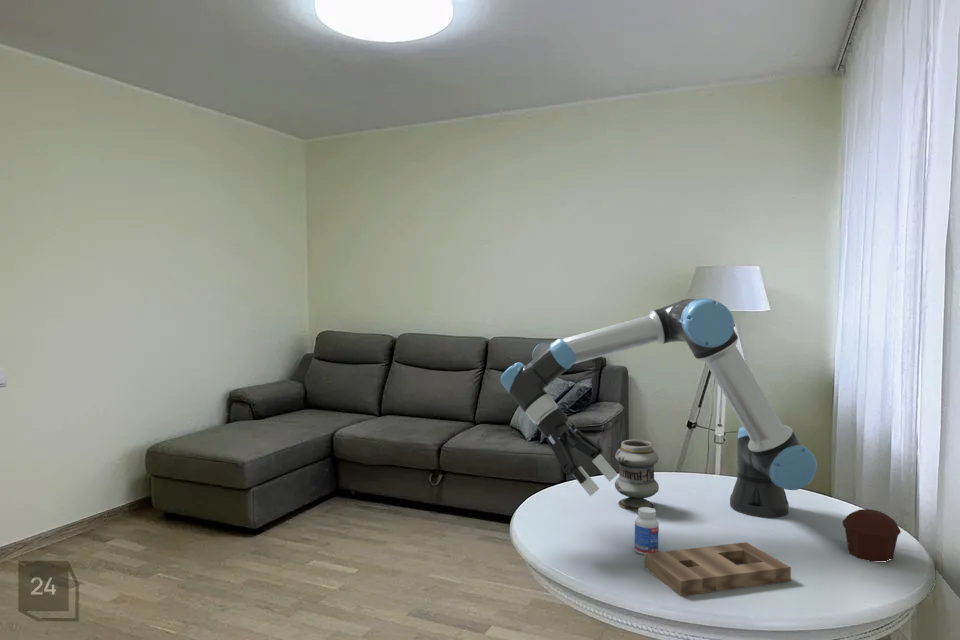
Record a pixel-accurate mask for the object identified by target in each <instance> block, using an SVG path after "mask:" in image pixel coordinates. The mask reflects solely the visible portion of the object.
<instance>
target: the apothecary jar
mask: <svg viewBox="0 0 960 640" xmlns="http://www.w3.org/2000/svg"><path fill="white" fill-rule="evenodd" d="M614 457H615V459H616V461H617V462H618V464H619V470H618V471H619V472H618V473H619V474H618V477H617V478H616V480H615V482H614V487H615V490H616V491H617V492H618V493H620V494H621V495H622V496H625V497H626V498H622V499H620V500H619V501H618V503H617V504H618V506H619V507H620V506H621V507H620V508H622V509H624V508H625V509H626V510H630V511H633V510H634V511H635V512H638V509H639V508H641V507H649V508H653V509H655V505H654V503H653V502H651V501H650V500H647V499H648V498H651V497H653V496H655V495H656V494H657V493H658V492H659V487H660V486H659V483H658V481H657V480H656V479H655V465H656V464H657V463H658V462H659V454H658V453H657V451H655V450H654V449H653V443H652V442H650V441H648V440H642V439H627V440H626V439H625V440H623V441H621V445H620V448H619V449H617V451H616V452H615V456H614ZM625 509H624V510H625Z"/></svg>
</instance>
